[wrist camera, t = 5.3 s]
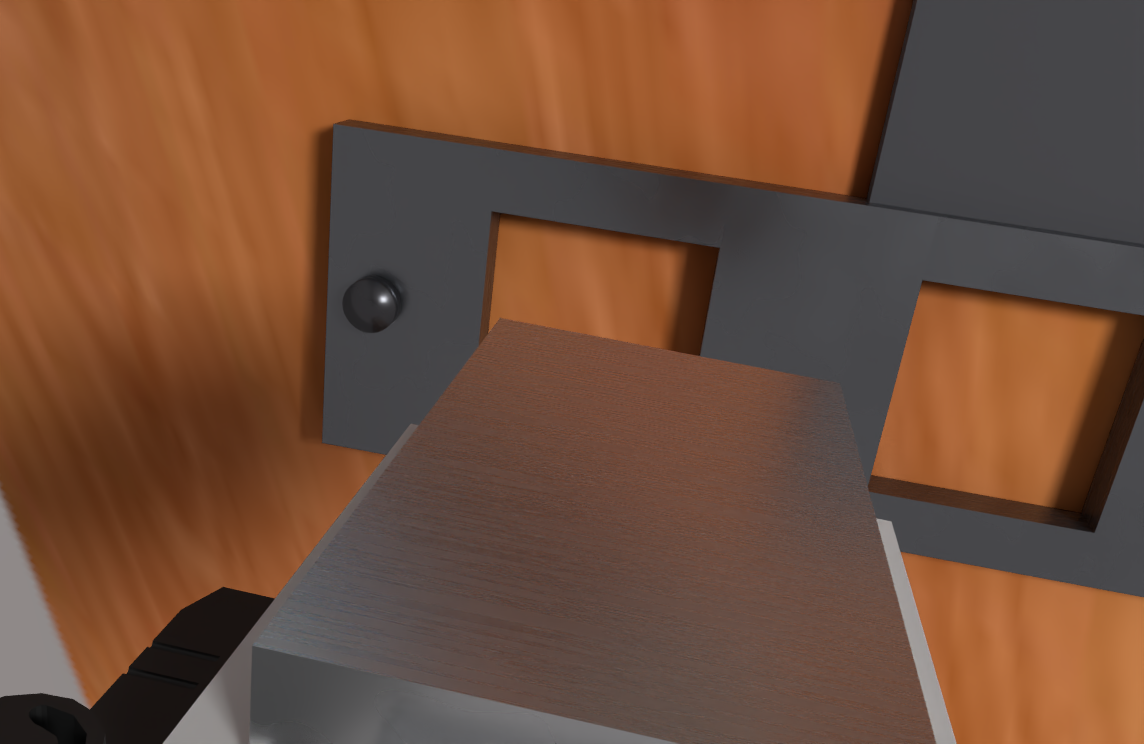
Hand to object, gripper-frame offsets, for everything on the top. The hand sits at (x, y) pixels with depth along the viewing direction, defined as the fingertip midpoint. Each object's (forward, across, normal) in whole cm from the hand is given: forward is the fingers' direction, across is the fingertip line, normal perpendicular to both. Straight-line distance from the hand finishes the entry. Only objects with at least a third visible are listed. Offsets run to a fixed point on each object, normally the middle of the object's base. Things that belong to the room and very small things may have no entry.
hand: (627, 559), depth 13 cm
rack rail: (+16, +4, -2) cm, 17 cm away
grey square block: (+2, 0, 0) cm, 2 cm away
